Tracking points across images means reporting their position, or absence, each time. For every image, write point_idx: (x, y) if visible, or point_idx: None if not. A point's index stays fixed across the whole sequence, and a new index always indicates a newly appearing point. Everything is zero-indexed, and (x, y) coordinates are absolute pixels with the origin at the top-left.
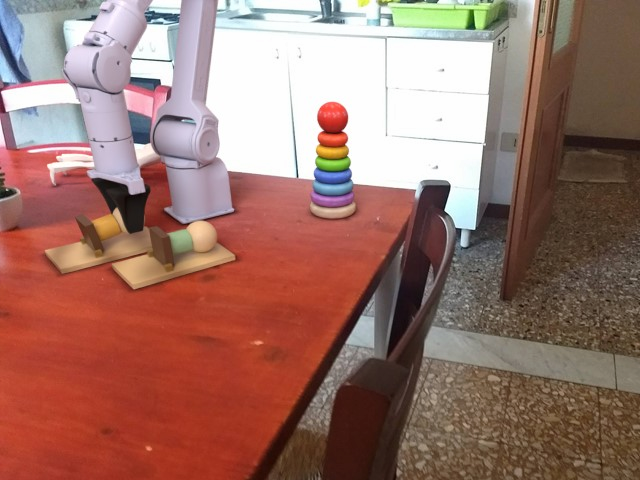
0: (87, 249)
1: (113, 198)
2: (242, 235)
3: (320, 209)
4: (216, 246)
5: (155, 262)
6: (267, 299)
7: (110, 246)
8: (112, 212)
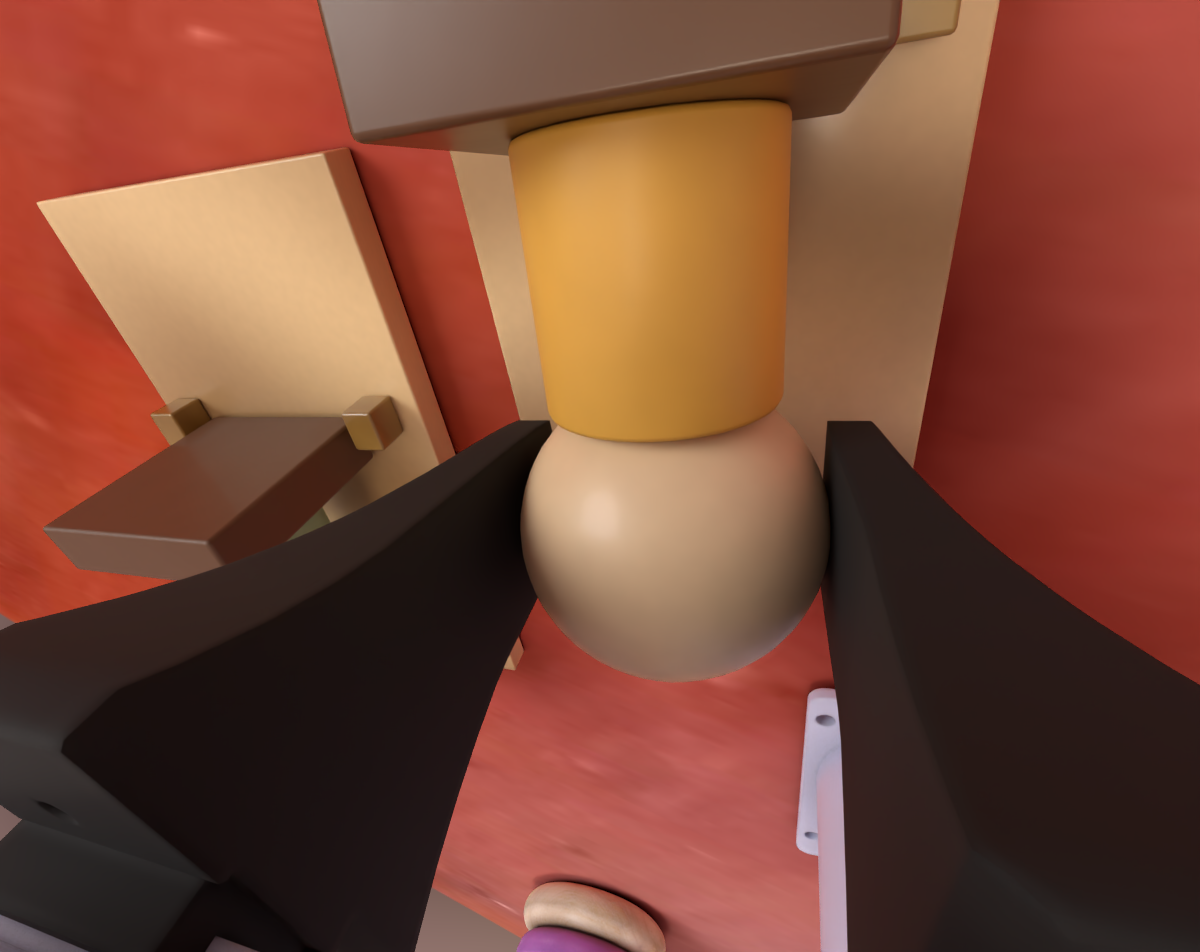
0: None
1: (38, 630)
2: (544, 734)
3: (554, 913)
4: None
5: (299, 398)
6: (58, 552)
7: None
8: (842, 472)
